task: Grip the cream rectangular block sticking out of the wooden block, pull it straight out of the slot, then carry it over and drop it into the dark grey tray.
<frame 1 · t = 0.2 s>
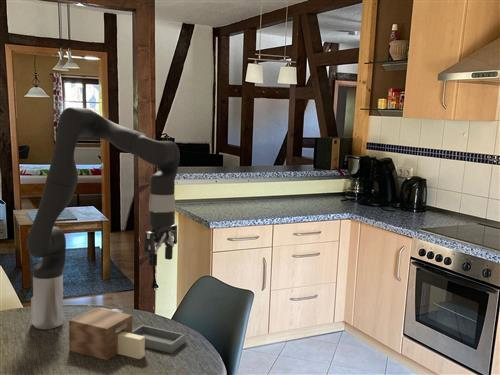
hand: (161, 262, 146), 28 cm above the table, fingers open, 8 cm apart
charger: (106, 324, 169), on the table
cream rectangular block: (125, 353, 147), on the table
tray: (156, 342, 155), on the table
wooden block: (101, 347, 150), on the table
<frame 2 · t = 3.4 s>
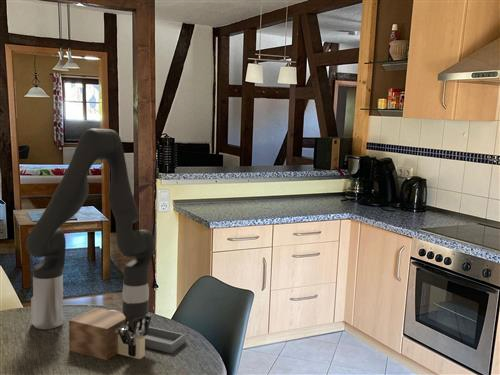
hand: (135, 353, 145), 1 cm above the table, fingers closed on cream rectangular block, 2 cm apart
charger: (103, 325, 168), on the table
cream rectangular block: (125, 353, 147), on the table, touching gripper
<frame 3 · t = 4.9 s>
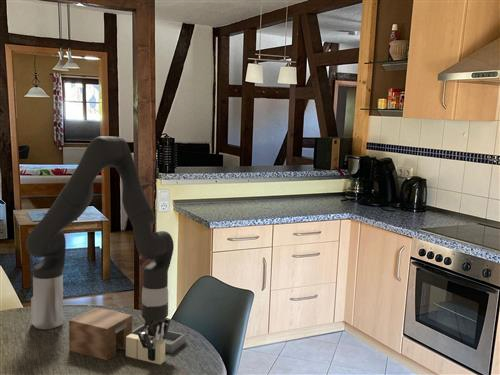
hand: (154, 357, 143), 1 cm above the table, fingers closed on cream rectangular block, 2 cm apart
cream rectangular block: (145, 358, 144), on the table, touching gripper
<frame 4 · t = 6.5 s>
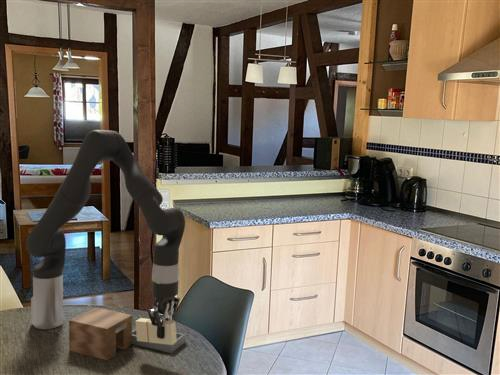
hand: (163, 335, 141), 8 cm above the table, fingers closed on cream rectangular block
cream rectangular block: (156, 341, 142), point 6 cm above the table, tilted 6°, touching gripper
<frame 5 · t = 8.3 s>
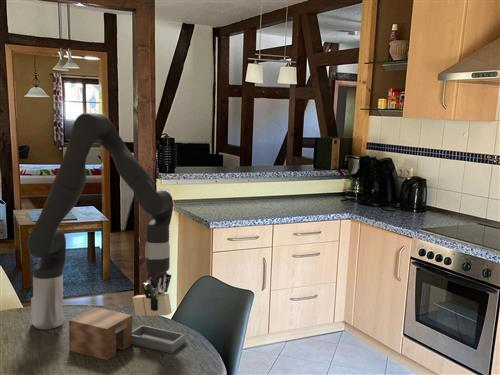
hand: (156, 308, 154), 11 cm above the table, fingers closed on cream rectangular block
cream rectangular block: (153, 314, 154), point 9 cm above the table, tilted 12°, touching gripper
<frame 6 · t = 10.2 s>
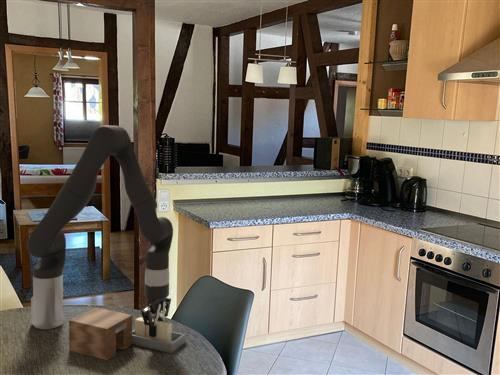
hand: (156, 333, 155), 3 cm above the table, fingers open, 3 cm apart
cream rectangular block: (153, 339, 155), point 1 cm above the table, touching tray
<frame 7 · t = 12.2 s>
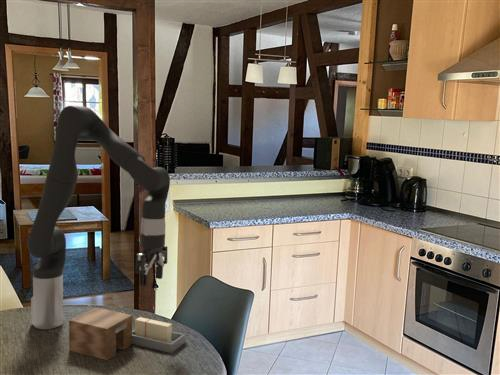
hand: (151, 282, 154), 19 cm above the table, fingers open, 8 cm apart
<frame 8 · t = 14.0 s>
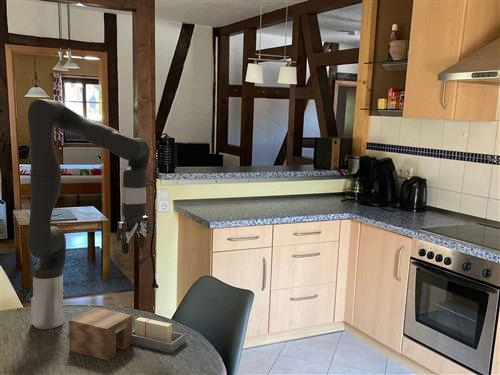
hand: (133, 250, 157), 28 cm above the table, fingers open, 8 cm apart
at the end: cream rectangular block inside the target area on the tray (1.2 cm from its centre), point 0.6 cm above the tray's base; cream rectangular block touching tray; the gripper is holding nothing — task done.
